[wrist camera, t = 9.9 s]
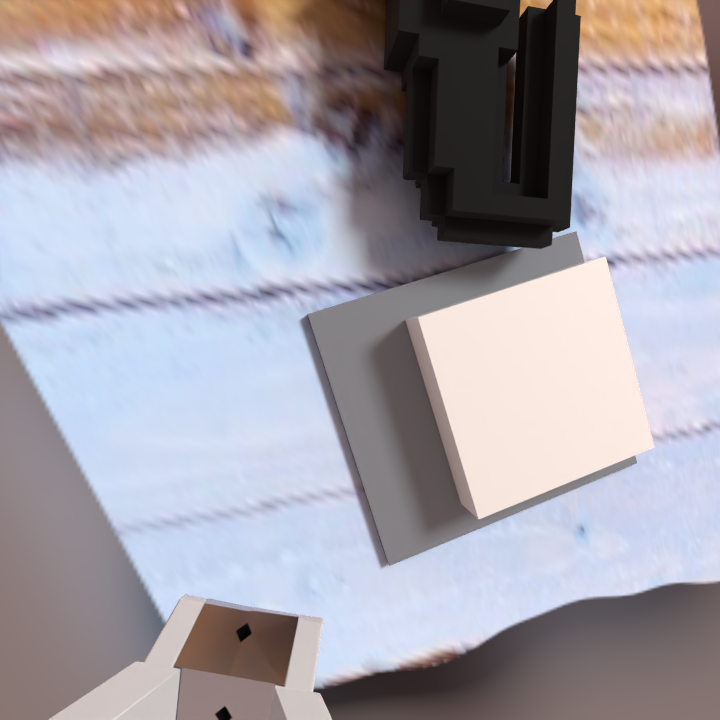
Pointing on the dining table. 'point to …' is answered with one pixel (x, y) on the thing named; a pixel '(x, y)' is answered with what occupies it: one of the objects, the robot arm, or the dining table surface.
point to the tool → (487, 115)
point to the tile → (531, 385)
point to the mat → (417, 398)
